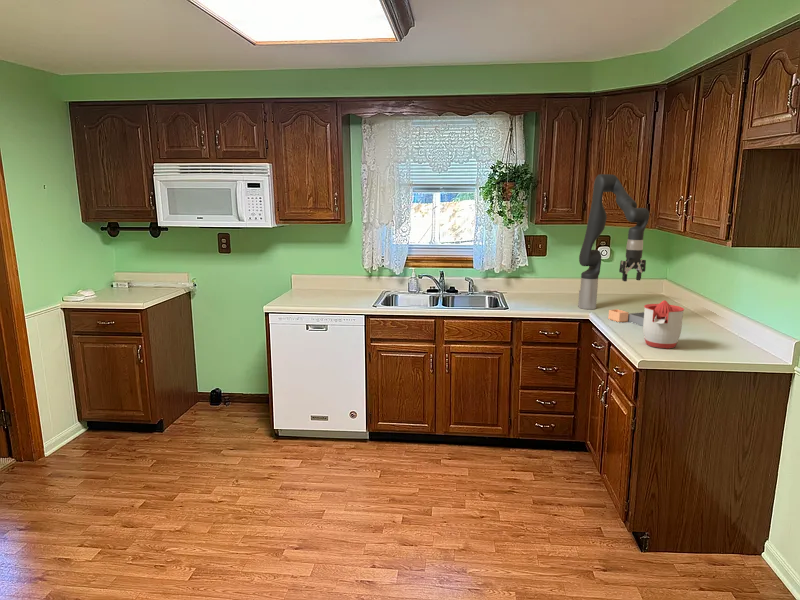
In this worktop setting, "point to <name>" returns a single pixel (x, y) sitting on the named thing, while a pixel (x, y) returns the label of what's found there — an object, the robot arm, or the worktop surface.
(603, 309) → the worktop surface
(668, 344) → the citrus juicer
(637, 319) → the large crate
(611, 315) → the small crate
